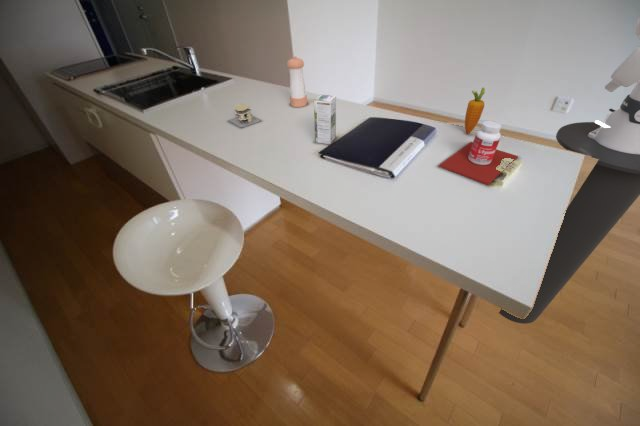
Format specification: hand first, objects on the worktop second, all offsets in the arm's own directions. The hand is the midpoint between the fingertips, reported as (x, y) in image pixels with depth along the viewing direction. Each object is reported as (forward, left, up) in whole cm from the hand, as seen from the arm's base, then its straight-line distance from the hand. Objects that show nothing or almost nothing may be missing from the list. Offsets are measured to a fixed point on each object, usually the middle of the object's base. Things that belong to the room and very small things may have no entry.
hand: (622, 76), depth 60 cm
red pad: (+6, -20, -25) cm, 33 cm away
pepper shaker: (+9, -99, -25) cm, 102 cm away
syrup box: (+26, -64, -26) cm, 73 cm away
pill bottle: (+6, -19, -25) cm, 32 cm away
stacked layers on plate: (+36, -101, -25) cm, 110 cm away
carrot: (-10, -31, -25) cm, 41 cm away
